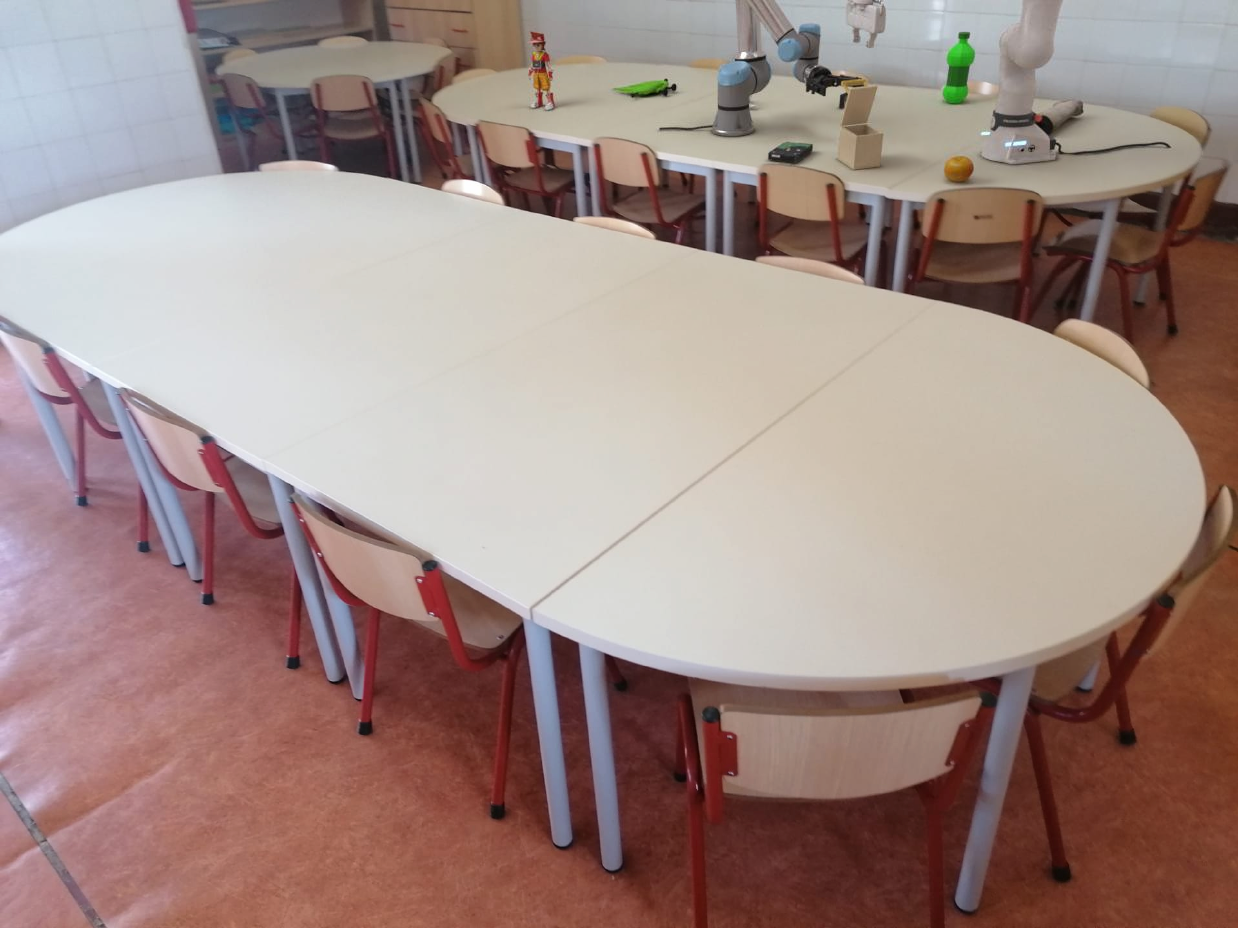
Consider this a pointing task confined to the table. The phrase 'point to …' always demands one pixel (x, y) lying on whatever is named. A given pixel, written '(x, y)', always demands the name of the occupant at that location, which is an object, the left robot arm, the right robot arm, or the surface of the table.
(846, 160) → the chest
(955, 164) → the fruit
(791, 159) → the disk drive
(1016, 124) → the right robot arm
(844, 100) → the midi keyboard
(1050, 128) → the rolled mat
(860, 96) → the lid
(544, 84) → the toy
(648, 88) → the toy
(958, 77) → the plastic bottle
